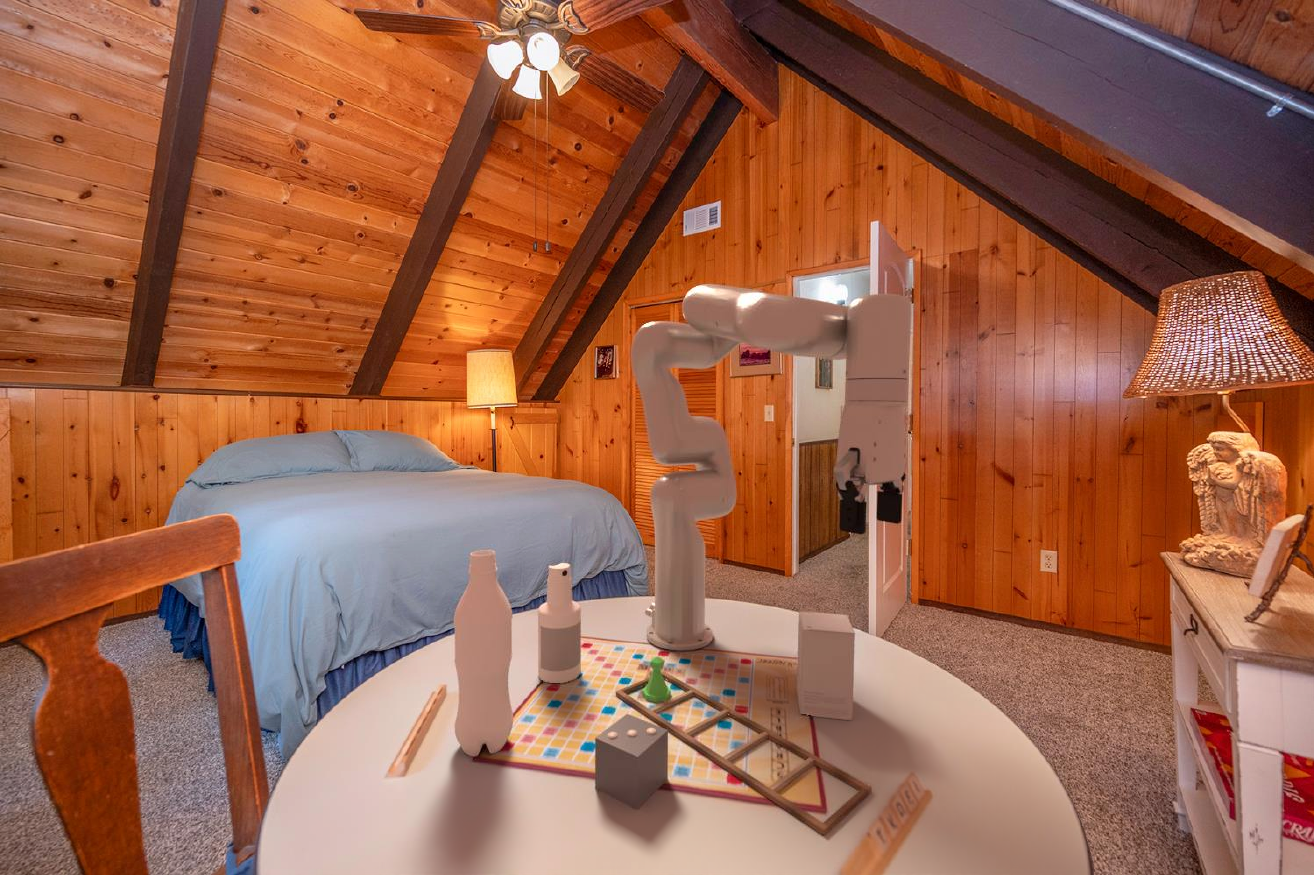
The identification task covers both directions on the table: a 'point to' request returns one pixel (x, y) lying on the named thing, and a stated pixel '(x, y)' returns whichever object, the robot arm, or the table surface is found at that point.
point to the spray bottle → (559, 629)
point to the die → (631, 760)
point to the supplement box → (825, 665)
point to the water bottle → (483, 659)
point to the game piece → (656, 683)
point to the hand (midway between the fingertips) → (871, 526)
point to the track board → (764, 734)
